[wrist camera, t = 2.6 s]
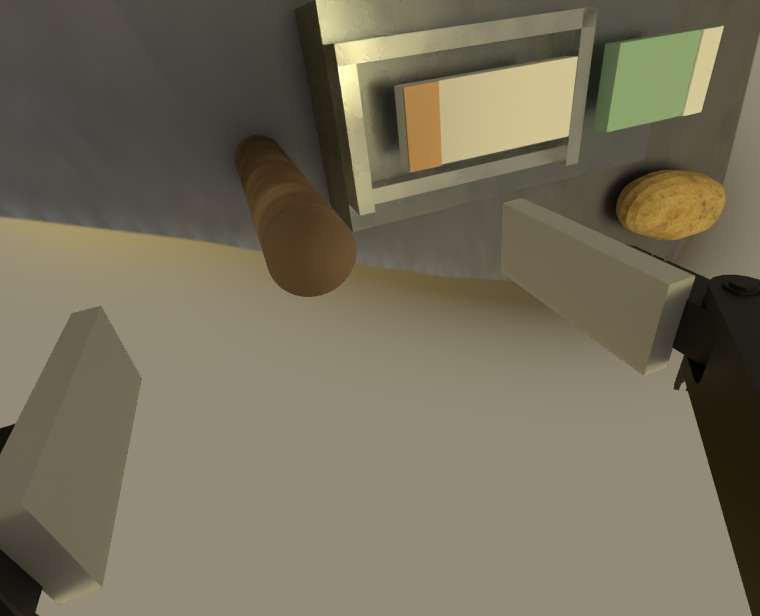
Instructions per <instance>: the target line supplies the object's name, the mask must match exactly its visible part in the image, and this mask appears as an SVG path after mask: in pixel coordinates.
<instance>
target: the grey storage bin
mask: <svg viewBox="0 0 760 616" xmlns="http://www.w3.org/2000/svg"><path fill="white" fill-rule="evenodd" d="M678 1H679V0H315V1H312V2H310V3H308V4H306V5H304V6H302V7H300V8H298V9H295V11H296V16H297V22H298V27H299V33H300V38H301V43H302V49H303V54H304V60H305V65H306V71H307V76H308V81H309V87H310V92H311V98H312V103H313V109H314V114H315V119H316V125H317V130H318V136H319V141H320V146H321V152H322V157H323V163H324V168H325V174H326V179H327V184H328V190H329V195H330V201H331V206H332V208H333V209H334V210H335V211H336V213H337V214H338V215H339V216H340V217H341V219H342V220H343V221H344V222H345V223H346V224H347V226H348V227H349V228H350V229H351V230H352V232H356V231H360V230H364V229H368V228H372V227H376V226H380V225H384V224H388V223H392V222H396V221H400V220H404V219H408V218H412V217H416V216H420V215H424V214H428V213H432V212H437V211H441V210H445V209H449V208H453V207H457V206H461V205H465V204H469V203H473V202H477V201H481V200H485V199H489V198H493V197H497V196H501V195H505V194H509V193H513V192H517V191H521V190H525V189H529V188H533V187H537V186H541V185H545V184H549V183H553V182H557V181H561V180H565V179H569V178H573V177H577V176H581V175H585V174H589V173H593V172H597V171H601V170H605V169H609V168H613V167H617V166H621V165H625V164H629V163H633V162H637V161H641V160H645V157H646V152H647V147H648V143H649V138H650V133H651V129H652V124H653V122H651V123H646V124H642V125H637V126H633V127H628V128H624V129H620V130H615V131H611V132H602V131H597V130H593V127H594V120H595V113H596V106H597V99H598V92H599V85H600V78H601V71H602V64H603V57H604V50H605V44H606V43H612V42H618V41H624V40H630V39H635V38H641V37H647V36H653V35H659V34H665V33H671V32H672V29H673V25H674V20H675V15H676V11H677V6H678ZM563 56H578V60H577V68H576V77H575V86H574V94H573V103H572V112H571V121H570V129H569V136H567V137H563V138H558V139H554V140H549V141H545V142H540V143H536V144H531V145H527V146H522V147H518V148H513V149H509V150H504V151H500V152H496V153H491V154H487V155H482V156H478V157H473V158H469V159H464V160H460V161H455V162H451V163H446V164H442V166H438V167H433V168H429V169H424V170H420V171H415V172H411V173H410V172H409V171H407V170H405V169H403V168H402V167H401V158H400V147H399V136H398V125H397V113H396V102H395V91H394V86H395V85H401V84H406V83H412V82H418V81H424V80H430V79H435V78H441V77H447V76H453V75H458V74H464V73H470V72H476V71H482V70H487V69H493V68H499V67H505V66H511V65H516V64H522V63H528V62H534V61H540V60H545V59H551V58H557V57H563Z"/></svg>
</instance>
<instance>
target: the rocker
mask: <svg viewBox="0 0 760 616" xmlns="http://www.w3.org/2000/svg"><path fill="white" fill-rule="evenodd" d="M577 60H578V56H563V57H557V58H551V59H545V60H540V61H534V62H528V63H522V64H516V65H511V66H505V67H499V68H493V69H487V70H482V71H476V72H470V73H464V74H458V75H453V76H447V77H441V78H435V79H430V80H424V81H418V82H412V83H406V84H401V85H395V86H394V91H395V102H396V113H397V125H398V136H399V147H400V158H401V167H402V168H403V169H405V170H407V171H409V172H410V173H411V172H415V171H420V170H424V169H429V168H433V167H438V166H442V164H446V163H451V162H455V161H460V160H464V159H469V158H473V157H478V156H482V155H487V154H491V153H496V152H500V151H504V150H509V149H513V148H518V147H522V146H527V145H531V144H536V143H540V142H545V141H549V140H554V139H558V138H563V137H567V136H569V129H570V121H571V112H572V103H573V94H574V86H575V77H576V68H577Z"/></svg>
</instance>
